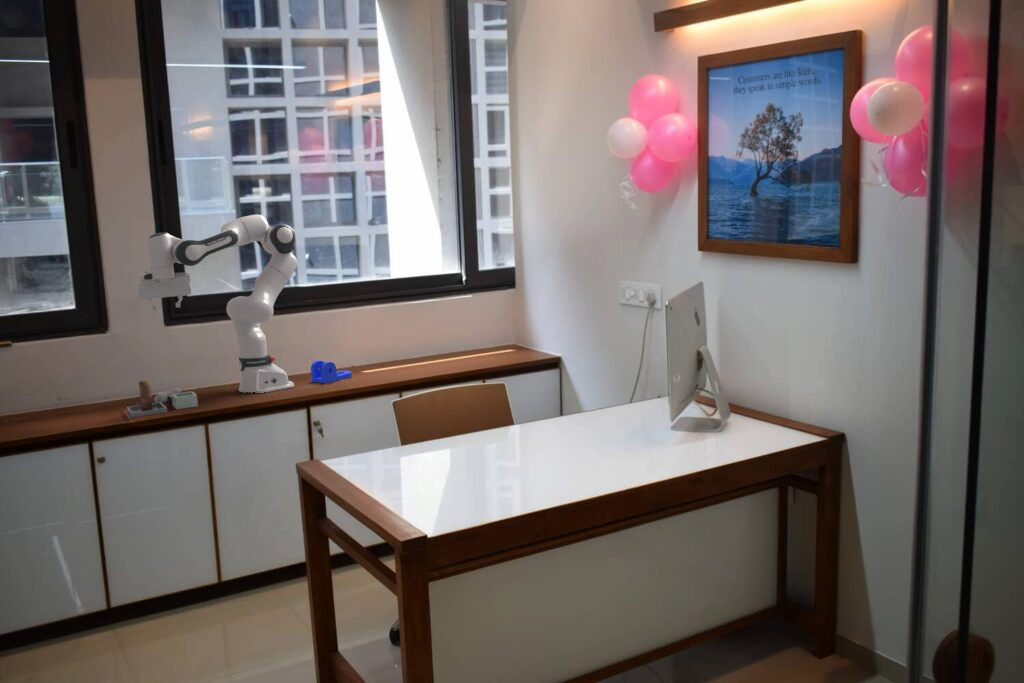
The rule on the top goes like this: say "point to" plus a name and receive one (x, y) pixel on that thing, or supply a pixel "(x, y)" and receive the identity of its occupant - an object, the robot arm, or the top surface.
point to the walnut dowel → (145, 395)
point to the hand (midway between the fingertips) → (165, 308)
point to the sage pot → (184, 400)
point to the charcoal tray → (136, 411)
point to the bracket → (327, 372)
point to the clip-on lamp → (165, 396)
